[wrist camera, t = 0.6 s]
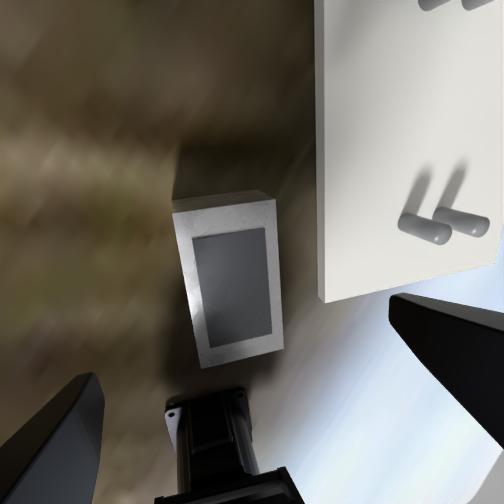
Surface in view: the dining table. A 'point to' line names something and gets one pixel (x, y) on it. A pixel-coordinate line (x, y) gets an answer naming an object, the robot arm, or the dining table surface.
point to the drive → (231, 273)
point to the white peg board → (407, 140)
